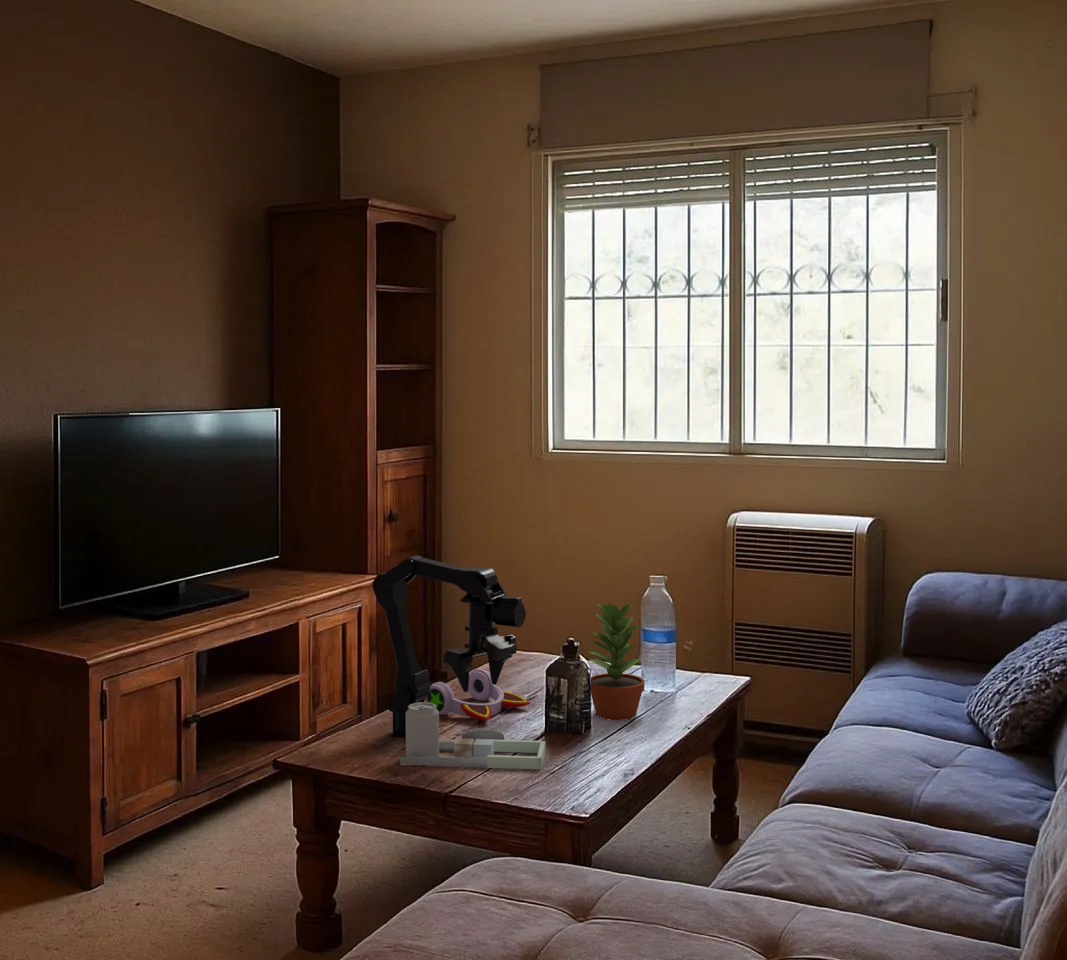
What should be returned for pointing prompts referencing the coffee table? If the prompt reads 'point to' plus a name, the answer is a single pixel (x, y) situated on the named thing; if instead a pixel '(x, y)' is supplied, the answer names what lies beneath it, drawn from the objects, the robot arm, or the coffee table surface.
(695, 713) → the coffee table surface
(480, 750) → the grey-blue block
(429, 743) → the can
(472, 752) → the cream block
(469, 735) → the coaster
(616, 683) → the potted plant
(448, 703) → the headphones
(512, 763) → the tray
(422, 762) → the channel
